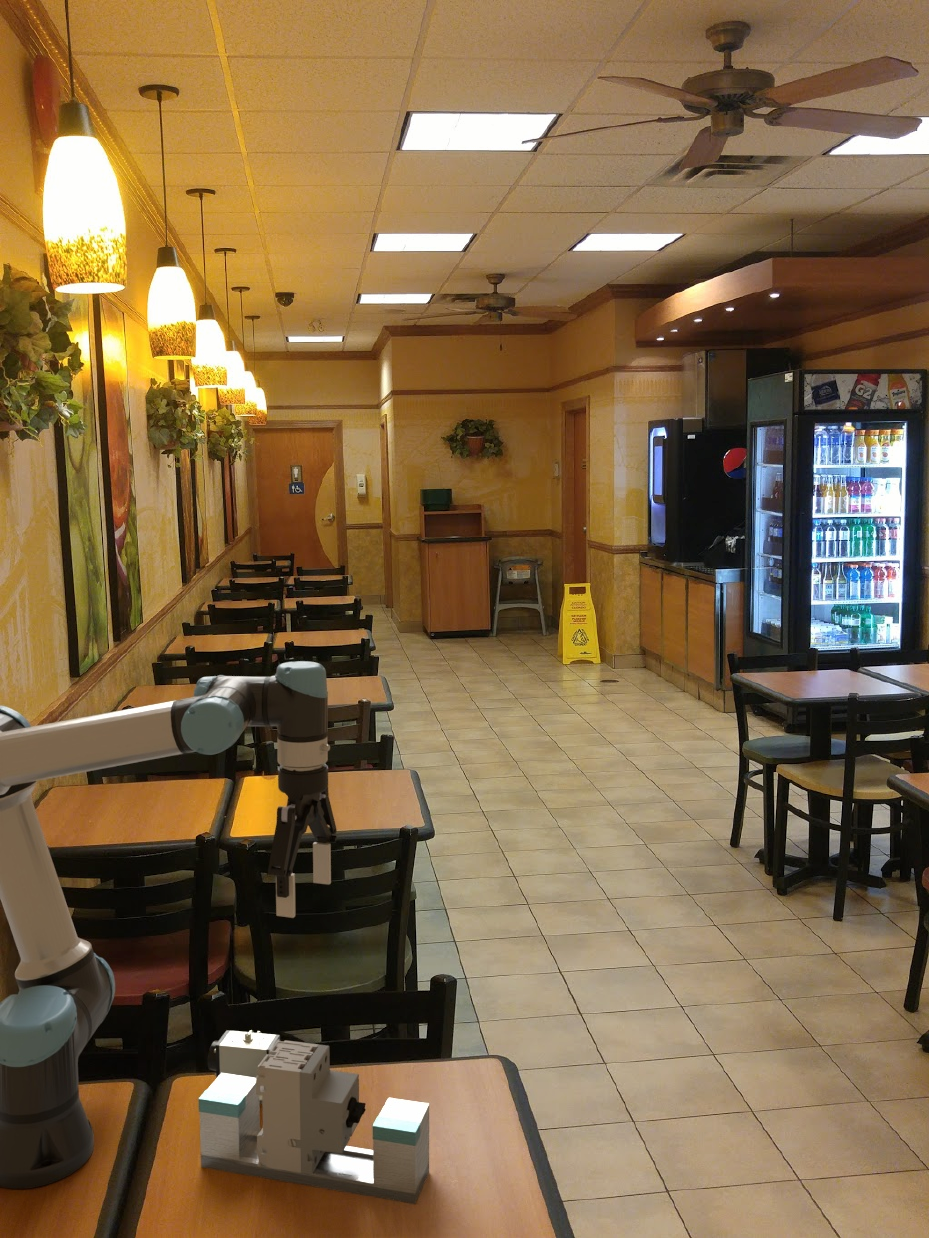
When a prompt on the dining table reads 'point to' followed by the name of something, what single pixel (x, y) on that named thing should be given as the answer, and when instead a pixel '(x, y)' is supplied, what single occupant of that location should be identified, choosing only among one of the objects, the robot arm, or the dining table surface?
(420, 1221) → the dining table surface
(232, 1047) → the pneumatic valve
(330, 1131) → the circuit breaker
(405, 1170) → the rail with modules
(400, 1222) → the dining table surface
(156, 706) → the robot arm
